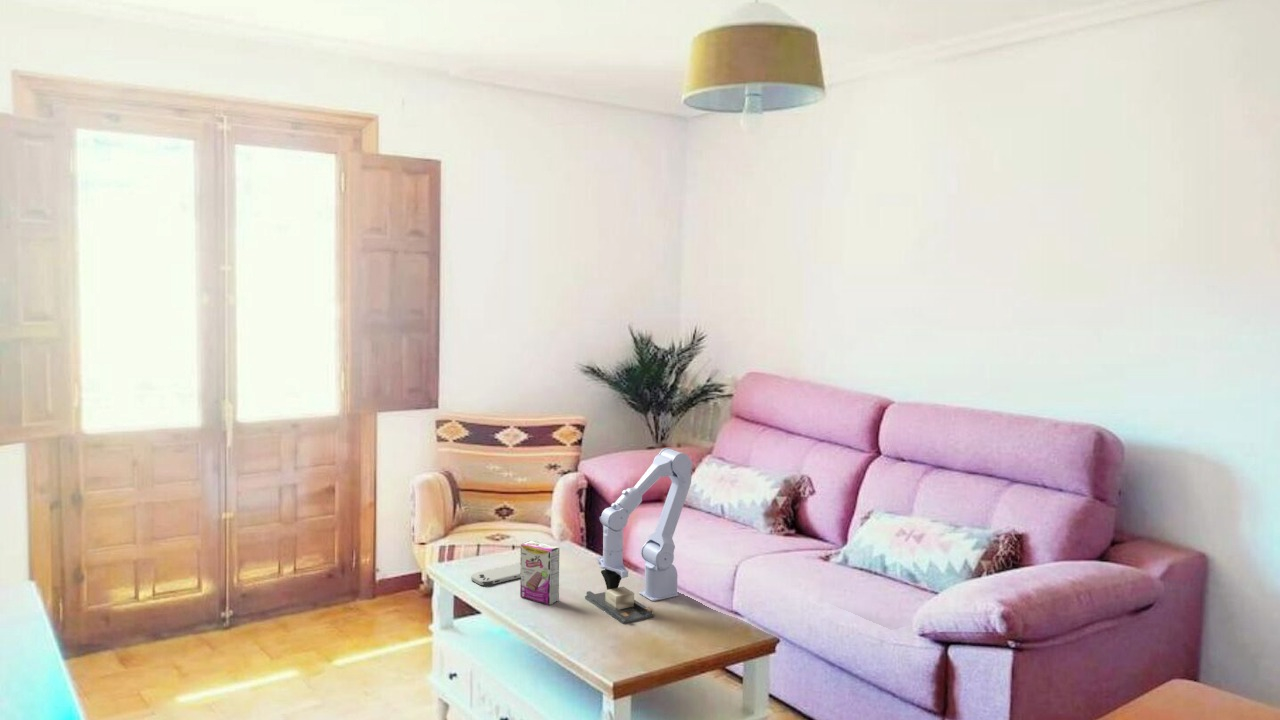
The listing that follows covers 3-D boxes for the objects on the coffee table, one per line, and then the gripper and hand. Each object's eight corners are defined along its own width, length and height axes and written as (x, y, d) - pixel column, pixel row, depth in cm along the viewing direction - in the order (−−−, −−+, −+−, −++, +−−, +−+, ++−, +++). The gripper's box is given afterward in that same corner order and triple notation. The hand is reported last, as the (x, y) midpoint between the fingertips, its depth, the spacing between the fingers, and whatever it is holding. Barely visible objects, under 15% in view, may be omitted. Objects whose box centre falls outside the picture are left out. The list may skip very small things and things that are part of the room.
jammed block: (623, 599, 263) (623, 586, 263) (633, 606, 258) (634, 592, 258) (605, 603, 260) (605, 590, 260) (615, 610, 255) (616, 596, 255)
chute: (614, 592, 272) (614, 585, 271) (653, 617, 253) (653, 609, 253) (585, 598, 266) (585, 591, 266) (623, 623, 248) (623, 615, 247)
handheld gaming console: (529, 557, 296) (546, 565, 288) (529, 565, 296) (546, 574, 289) (467, 571, 281) (483, 580, 274) (467, 580, 281) (483, 589, 274)
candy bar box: (519, 597, 266) (519, 543, 264) (530, 593, 270) (530, 539, 268) (549, 606, 260) (549, 550, 258) (559, 600, 264) (560, 546, 263)
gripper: (588, 544, 265) (588, 589, 267) (613, 558, 253) (612, 605, 254) (609, 541, 269) (609, 585, 270) (634, 554, 257) (634, 600, 258)
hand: (612, 594), depth 262 cm, fingers closed
